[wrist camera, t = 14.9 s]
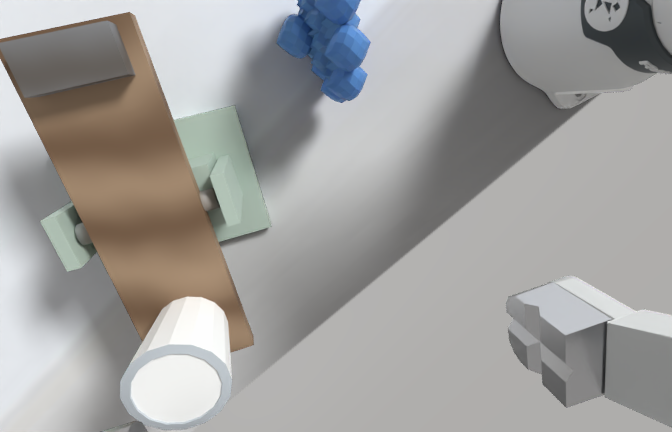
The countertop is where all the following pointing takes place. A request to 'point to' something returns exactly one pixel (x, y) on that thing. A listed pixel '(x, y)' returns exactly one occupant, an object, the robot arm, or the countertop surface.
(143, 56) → the seesaw beam
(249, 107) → the countertop surface
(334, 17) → the grapes
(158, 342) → the white cup
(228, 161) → the pivot stand
